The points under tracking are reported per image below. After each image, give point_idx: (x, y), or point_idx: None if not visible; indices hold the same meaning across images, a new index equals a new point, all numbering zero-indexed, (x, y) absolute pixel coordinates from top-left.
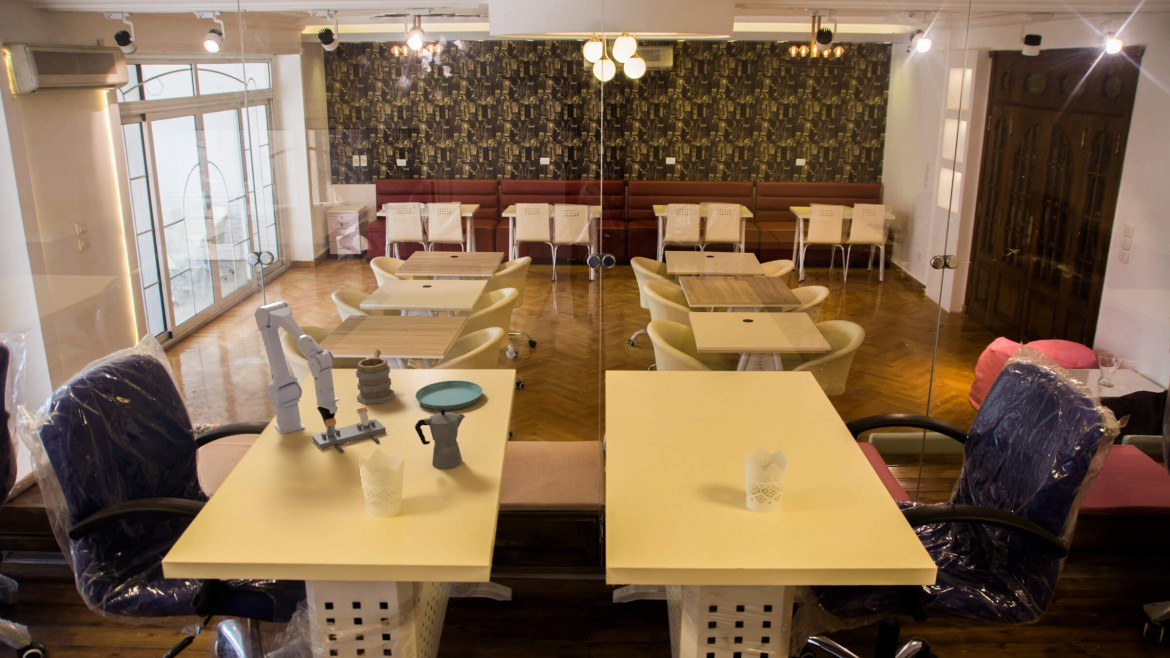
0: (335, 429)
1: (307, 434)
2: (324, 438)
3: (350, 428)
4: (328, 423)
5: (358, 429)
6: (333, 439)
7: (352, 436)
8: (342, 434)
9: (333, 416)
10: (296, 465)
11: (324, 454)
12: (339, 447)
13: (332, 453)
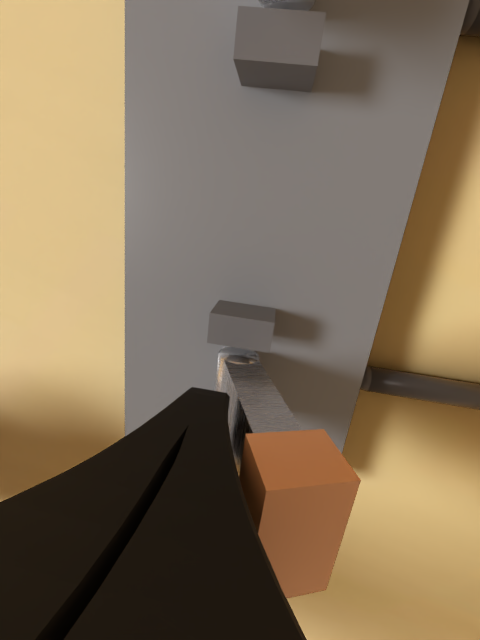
0: (221, 342)
1: (27, 402)
2: None
3: (202, 156)
4: (324, 562)
5: (292, 91)
6: (327, 395)
7: (401, 235)
8: (284, 290)
9: (243, 511)
10: (405, 619)
11: (408, 478)
12: (456, 399)
13: (442, 441)
